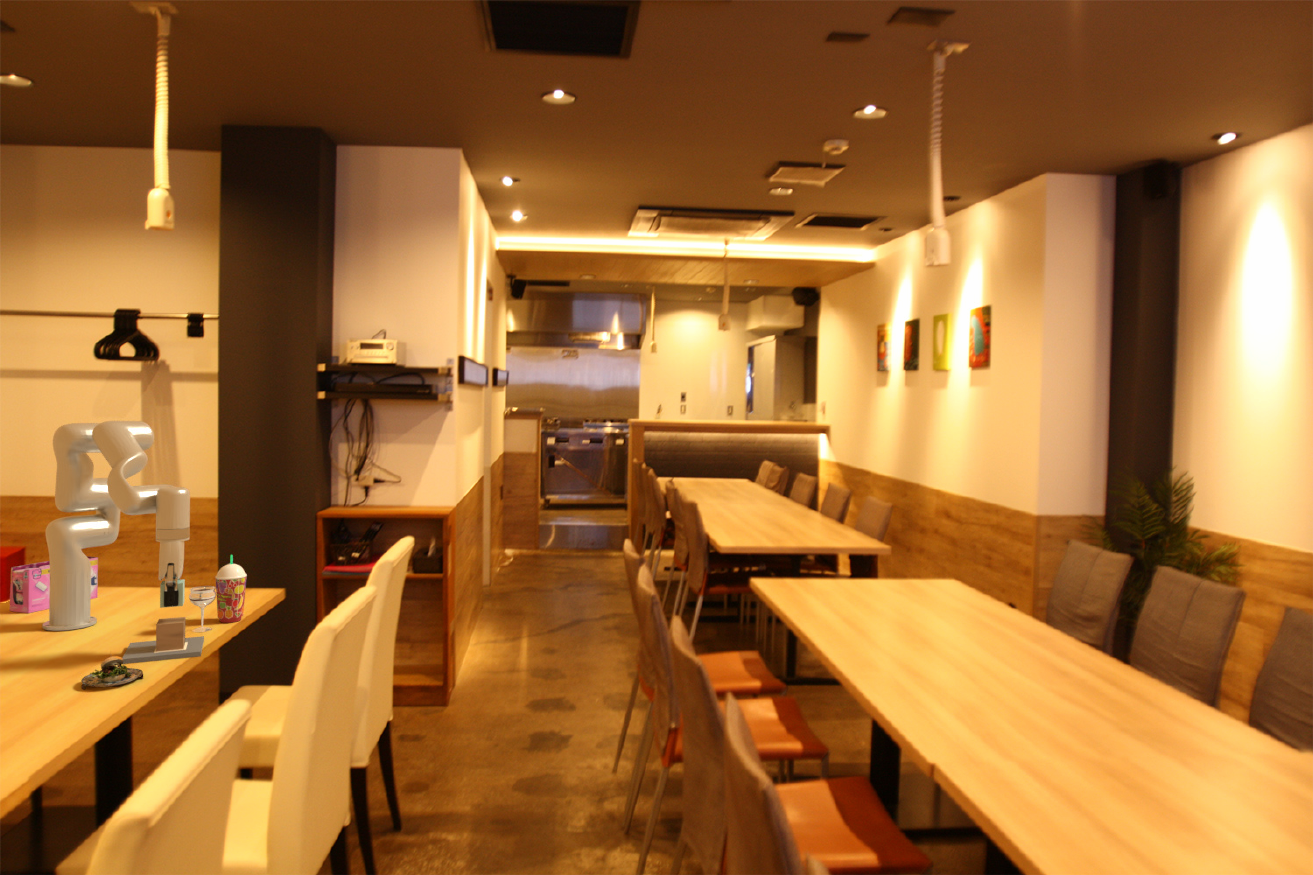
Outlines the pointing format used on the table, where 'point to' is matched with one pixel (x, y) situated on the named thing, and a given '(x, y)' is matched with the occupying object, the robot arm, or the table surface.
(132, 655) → the slate board
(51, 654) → the table surface
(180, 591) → the teal block
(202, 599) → the wineglass
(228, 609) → the smoothie
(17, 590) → the gum box
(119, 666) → the burger
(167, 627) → the walnut block
